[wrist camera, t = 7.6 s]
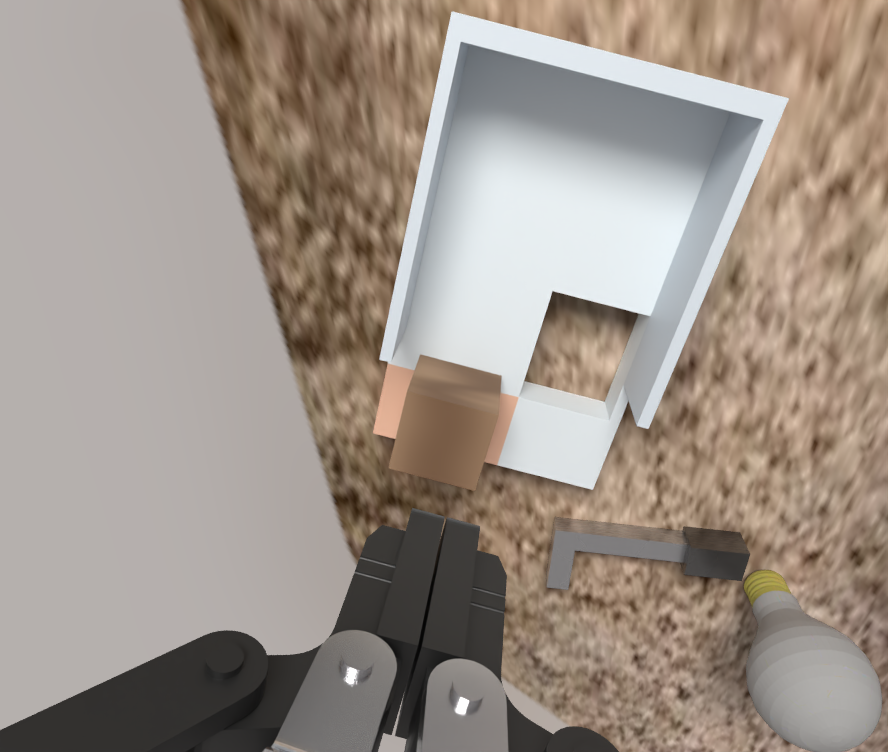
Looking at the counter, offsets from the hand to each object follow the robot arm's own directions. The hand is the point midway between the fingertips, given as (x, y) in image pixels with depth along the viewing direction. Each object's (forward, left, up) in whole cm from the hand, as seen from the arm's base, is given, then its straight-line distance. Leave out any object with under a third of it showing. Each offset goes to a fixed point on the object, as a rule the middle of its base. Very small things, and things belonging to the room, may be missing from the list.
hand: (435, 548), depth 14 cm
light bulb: (-19, +13, -20) cm, 30 cm away
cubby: (-2, 0, -20) cm, 20 cm away
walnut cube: (0, +6, -18) cm, 18 cm away
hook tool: (-12, +13, -20) cm, 27 cm away
